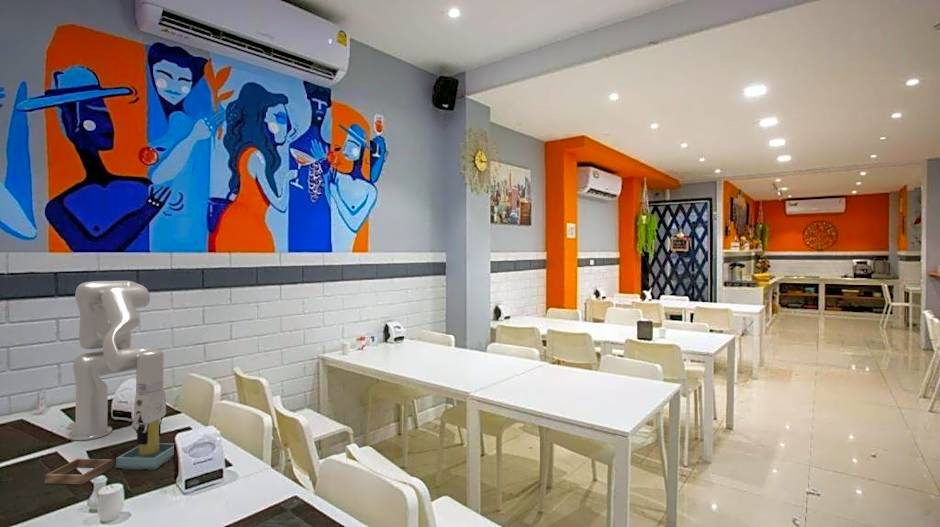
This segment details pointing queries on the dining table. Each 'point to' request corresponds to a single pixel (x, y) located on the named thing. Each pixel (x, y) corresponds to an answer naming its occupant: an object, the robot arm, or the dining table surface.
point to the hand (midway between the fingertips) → (148, 439)
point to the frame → (63, 478)
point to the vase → (151, 439)
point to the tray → (145, 458)
